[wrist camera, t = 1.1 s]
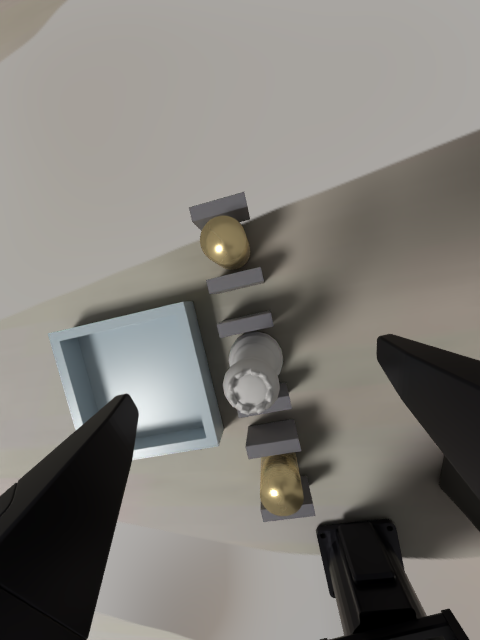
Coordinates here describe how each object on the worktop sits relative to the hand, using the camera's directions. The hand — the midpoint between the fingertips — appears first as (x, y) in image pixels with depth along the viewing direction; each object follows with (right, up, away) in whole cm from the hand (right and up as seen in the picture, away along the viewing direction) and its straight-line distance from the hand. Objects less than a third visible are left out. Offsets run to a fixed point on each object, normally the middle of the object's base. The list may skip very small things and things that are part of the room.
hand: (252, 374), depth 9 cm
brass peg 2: (+3, -10, +13) cm, 17 cm away
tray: (-9, -3, +14) cm, 17 cm away
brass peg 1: (-1, +8, +12) cm, 14 cm away
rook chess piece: (+1, -1, +13) cm, 13 cm away
